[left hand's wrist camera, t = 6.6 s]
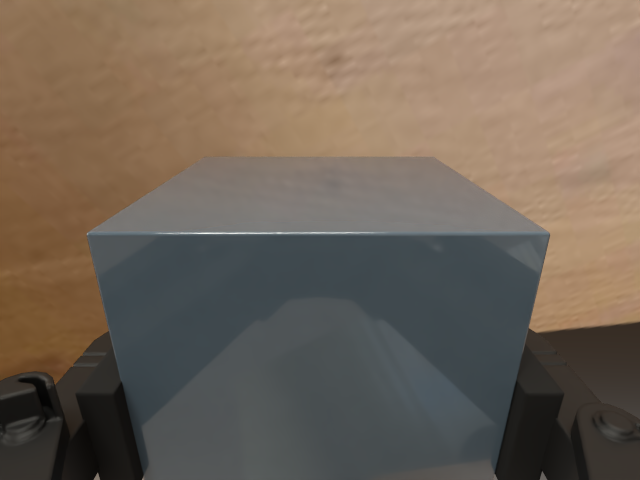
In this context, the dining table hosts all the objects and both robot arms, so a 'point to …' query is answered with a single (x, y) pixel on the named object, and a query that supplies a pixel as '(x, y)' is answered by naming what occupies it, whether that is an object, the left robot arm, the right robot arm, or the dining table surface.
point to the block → (318, 319)
